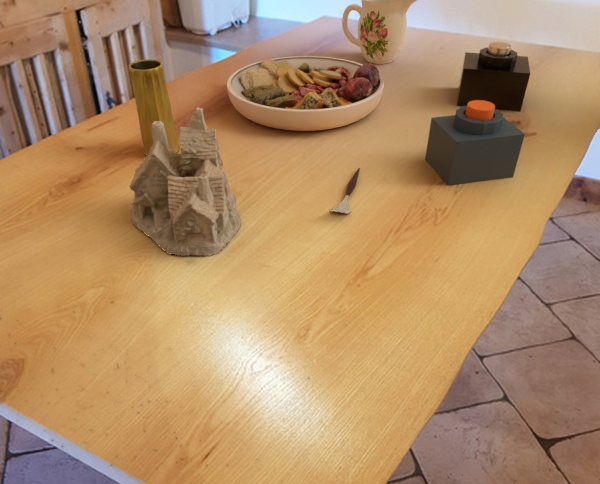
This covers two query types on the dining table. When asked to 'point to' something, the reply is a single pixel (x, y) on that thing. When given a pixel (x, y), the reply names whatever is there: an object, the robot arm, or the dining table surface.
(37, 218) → the dining table surface
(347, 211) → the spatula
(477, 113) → the orange push button
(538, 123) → the dining table surface
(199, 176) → the ceramic cottage
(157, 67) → the vase
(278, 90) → the bowl
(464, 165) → the button housing
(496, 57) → the base unit
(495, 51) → the power button
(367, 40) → the pitcher
